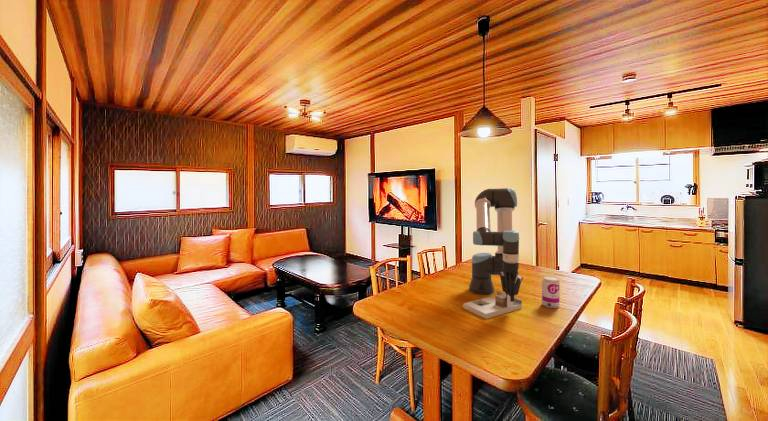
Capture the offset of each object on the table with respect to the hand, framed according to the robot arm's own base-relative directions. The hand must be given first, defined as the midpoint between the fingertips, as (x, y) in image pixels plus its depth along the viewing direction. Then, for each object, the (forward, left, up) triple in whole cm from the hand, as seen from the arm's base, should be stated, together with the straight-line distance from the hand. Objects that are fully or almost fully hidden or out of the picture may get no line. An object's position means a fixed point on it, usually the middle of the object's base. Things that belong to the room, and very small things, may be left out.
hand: (510, 306), depth 155 cm
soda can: (+4, +27, -4) cm, 27 cm away
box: (-9, -2, -3) cm, 10 cm away
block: (-5, 0, -1) cm, 5 cm away
